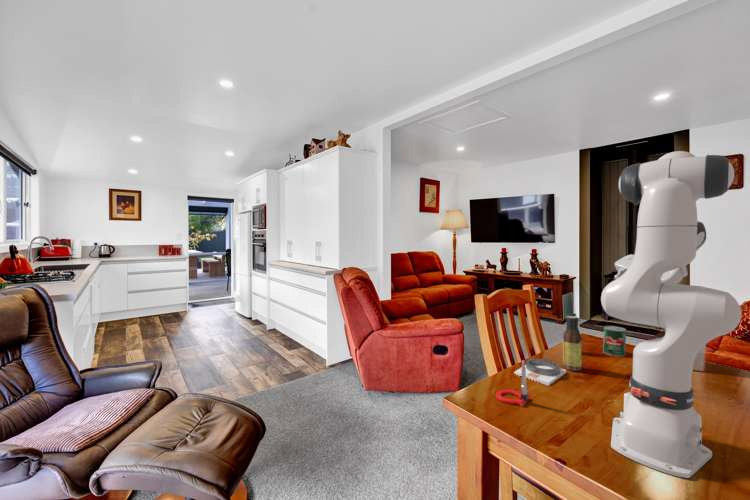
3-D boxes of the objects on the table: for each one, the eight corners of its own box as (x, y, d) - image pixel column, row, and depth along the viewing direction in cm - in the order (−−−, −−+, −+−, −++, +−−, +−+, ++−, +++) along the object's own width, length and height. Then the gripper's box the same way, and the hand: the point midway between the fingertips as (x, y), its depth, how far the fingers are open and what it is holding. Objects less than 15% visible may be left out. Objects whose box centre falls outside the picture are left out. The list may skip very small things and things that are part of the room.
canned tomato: (608, 356, 139) (609, 330, 139) (599, 349, 147) (599, 325, 147) (629, 357, 138) (630, 331, 138) (618, 350, 146) (619, 326, 145)
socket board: (548, 385, 112) (548, 376, 112) (514, 374, 121) (514, 366, 121) (566, 372, 122) (566, 364, 122) (533, 363, 131) (533, 355, 131)
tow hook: (491, 400, 103) (523, 408, 97) (490, 359, 103) (521, 365, 97) (501, 390, 109) (531, 398, 103) (500, 352, 109) (530, 357, 103)
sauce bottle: (585, 372, 123) (586, 319, 122) (568, 372, 123) (569, 319, 122) (575, 365, 129) (576, 315, 129) (559, 365, 129) (560, 315, 129)
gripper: (629, 246, 126) (600, 267, 126) (688, 261, 107) (654, 286, 106) (634, 259, 128) (606, 280, 128) (693, 276, 109) (659, 300, 108)
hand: (628, 283), depth 117 cm, fingers open, 8 cm apart
